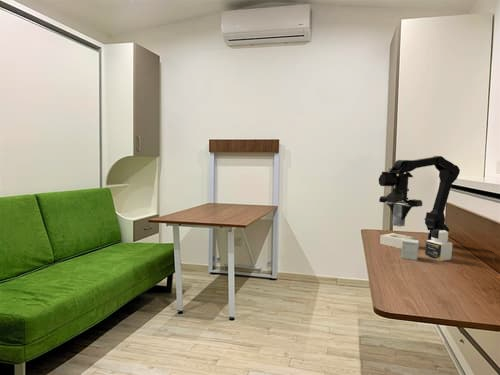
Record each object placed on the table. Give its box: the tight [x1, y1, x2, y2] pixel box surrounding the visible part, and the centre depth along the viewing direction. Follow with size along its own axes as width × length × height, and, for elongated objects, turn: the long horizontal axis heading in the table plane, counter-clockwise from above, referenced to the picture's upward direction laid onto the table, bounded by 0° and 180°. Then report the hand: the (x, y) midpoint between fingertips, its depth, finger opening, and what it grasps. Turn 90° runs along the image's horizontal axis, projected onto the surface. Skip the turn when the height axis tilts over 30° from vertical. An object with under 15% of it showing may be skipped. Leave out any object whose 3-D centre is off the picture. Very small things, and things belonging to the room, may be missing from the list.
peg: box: [392, 203, 406, 227], centre depth 166 cm, size 4×4×10 cm
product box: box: [400, 238, 420, 261], centre depth 145 cm, size 6×6×7 cm
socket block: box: [379, 232, 415, 250], centre depth 167 cm, size 11×11×4 cm
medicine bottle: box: [424, 229, 453, 262], centre depth 145 cm, size 7×7×12 cm
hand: (398, 219), depth 166 cm, fingers closed on peg, 4 cm apart
